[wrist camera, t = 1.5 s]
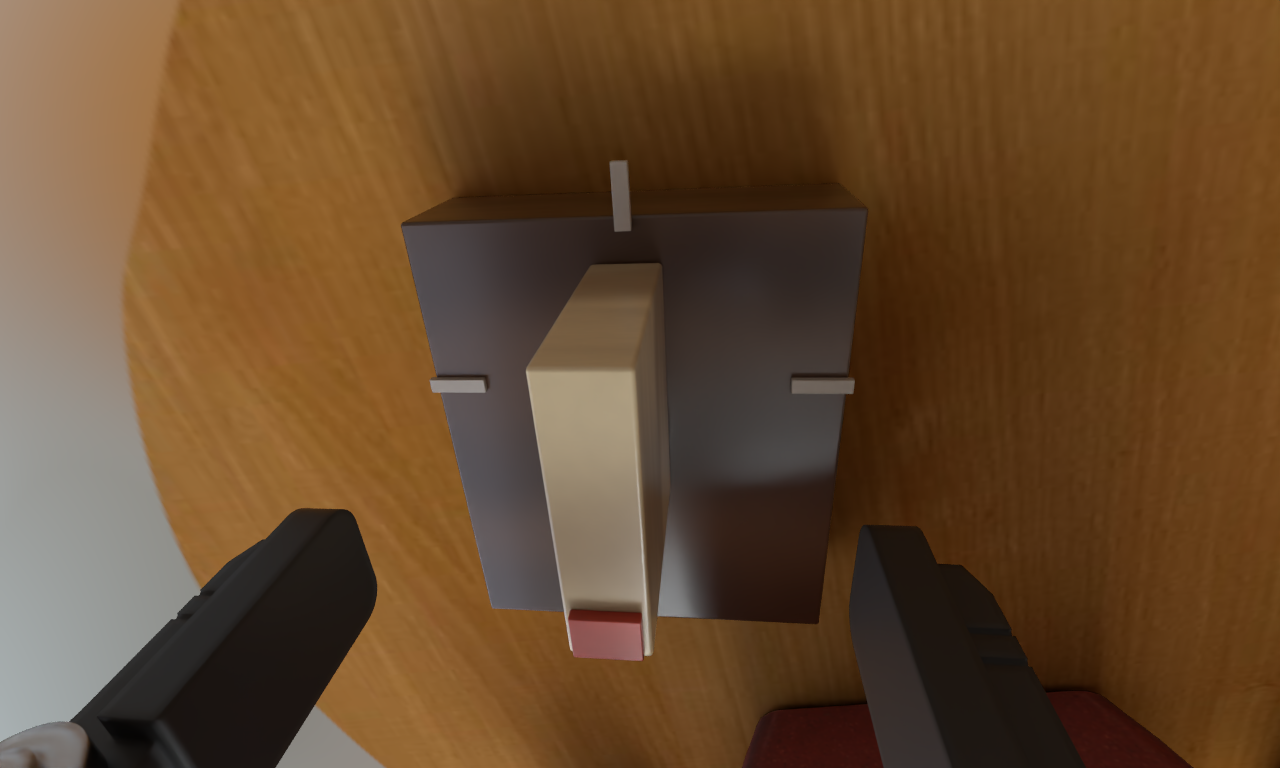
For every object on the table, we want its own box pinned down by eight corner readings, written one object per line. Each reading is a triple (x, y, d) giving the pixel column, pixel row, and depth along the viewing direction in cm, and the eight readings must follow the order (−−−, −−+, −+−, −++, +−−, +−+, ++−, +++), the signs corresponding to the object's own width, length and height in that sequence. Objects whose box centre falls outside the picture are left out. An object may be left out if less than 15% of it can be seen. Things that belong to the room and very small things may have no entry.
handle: (589, 263, 13) (518, 375, 8) (662, 261, 13) (632, 375, 8) (610, 484, 16) (566, 663, 11) (670, 486, 16) (652, 670, 11)
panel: (439, 153, 15) (378, 171, 12) (850, 134, 14) (884, 149, 11) (515, 542, 21) (486, 613, 19) (808, 552, 20) (823, 630, 17)
